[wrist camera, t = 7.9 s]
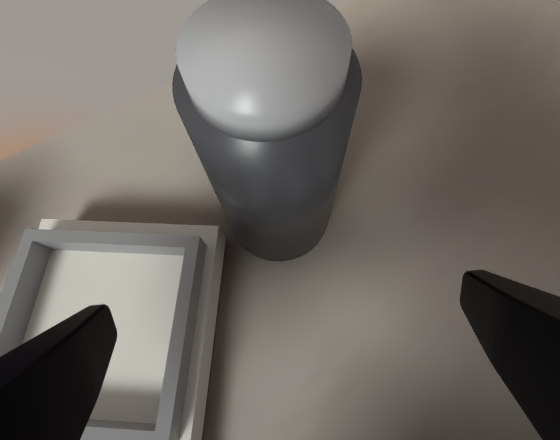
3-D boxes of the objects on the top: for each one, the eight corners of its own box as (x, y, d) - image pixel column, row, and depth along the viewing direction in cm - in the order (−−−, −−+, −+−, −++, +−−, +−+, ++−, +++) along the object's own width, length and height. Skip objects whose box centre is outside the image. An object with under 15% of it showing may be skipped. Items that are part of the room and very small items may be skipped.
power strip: (225, 239, 17) (212, 215, 14) (172, 680, 11) (132, 788, 8) (66, 232, 17) (22, 207, 14) (-63, 655, 11) (-176, 749, 9)
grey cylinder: (342, 193, 17) (399, 4, 8) (302, 278, 16) (317, 163, 7) (258, 158, 18) (224, -47, 9) (213, 235, 17) (115, 83, 8)
